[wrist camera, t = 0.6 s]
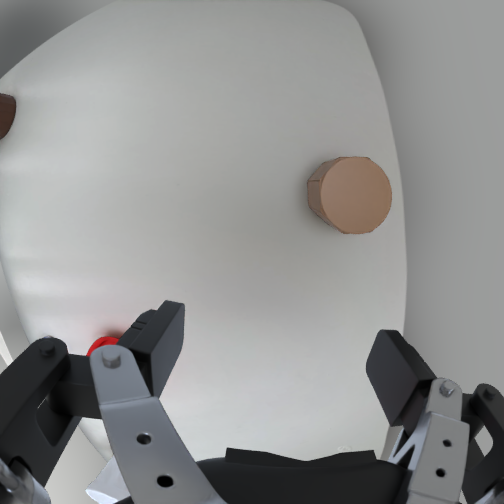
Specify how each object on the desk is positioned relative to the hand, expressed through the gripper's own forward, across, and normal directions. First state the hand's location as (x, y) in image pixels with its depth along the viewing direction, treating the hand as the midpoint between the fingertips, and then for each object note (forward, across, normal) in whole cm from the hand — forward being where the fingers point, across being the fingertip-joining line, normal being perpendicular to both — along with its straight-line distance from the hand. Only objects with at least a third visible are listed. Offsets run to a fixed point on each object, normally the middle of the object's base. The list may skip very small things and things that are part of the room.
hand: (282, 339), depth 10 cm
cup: (+16, +18, +42) cm, 49 cm away
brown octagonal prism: (+16, -5, -6) cm, 18 cm away
